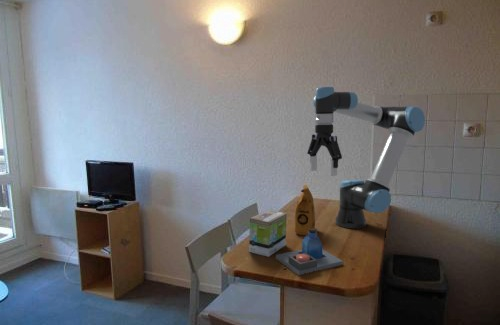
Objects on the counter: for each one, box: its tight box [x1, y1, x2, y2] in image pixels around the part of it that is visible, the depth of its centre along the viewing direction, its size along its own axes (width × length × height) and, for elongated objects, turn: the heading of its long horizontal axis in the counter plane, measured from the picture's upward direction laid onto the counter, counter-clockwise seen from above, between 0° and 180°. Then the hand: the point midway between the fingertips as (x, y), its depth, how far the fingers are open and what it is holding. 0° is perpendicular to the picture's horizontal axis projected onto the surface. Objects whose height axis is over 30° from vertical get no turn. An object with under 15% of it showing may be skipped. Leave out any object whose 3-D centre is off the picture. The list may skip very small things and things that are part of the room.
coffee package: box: [294, 184, 316, 236], centre depth 167 cm, size 10×12×22 cm
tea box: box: [248, 209, 288, 258], centre depth 146 cm, size 15×10×15 cm
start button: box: [296, 254, 310, 262], centre depth 128 cm, size 5×5×2 cm
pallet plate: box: [275, 249, 344, 276], centre depth 134 cm, size 20×16×4 cm
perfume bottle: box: [301, 227, 324, 259], centre depth 137 cm, size 6×6×12 cm
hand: (323, 173), depth 151 cm, fingers open, 13 cm apart
